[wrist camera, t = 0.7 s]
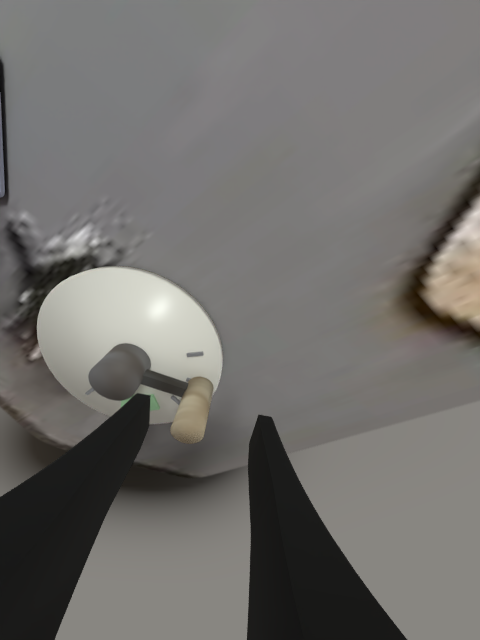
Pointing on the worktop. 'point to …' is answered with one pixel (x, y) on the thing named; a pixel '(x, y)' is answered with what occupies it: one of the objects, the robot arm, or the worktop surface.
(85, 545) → the robot arm
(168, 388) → the crank handle
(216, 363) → the dial plate
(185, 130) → the worktop surface
